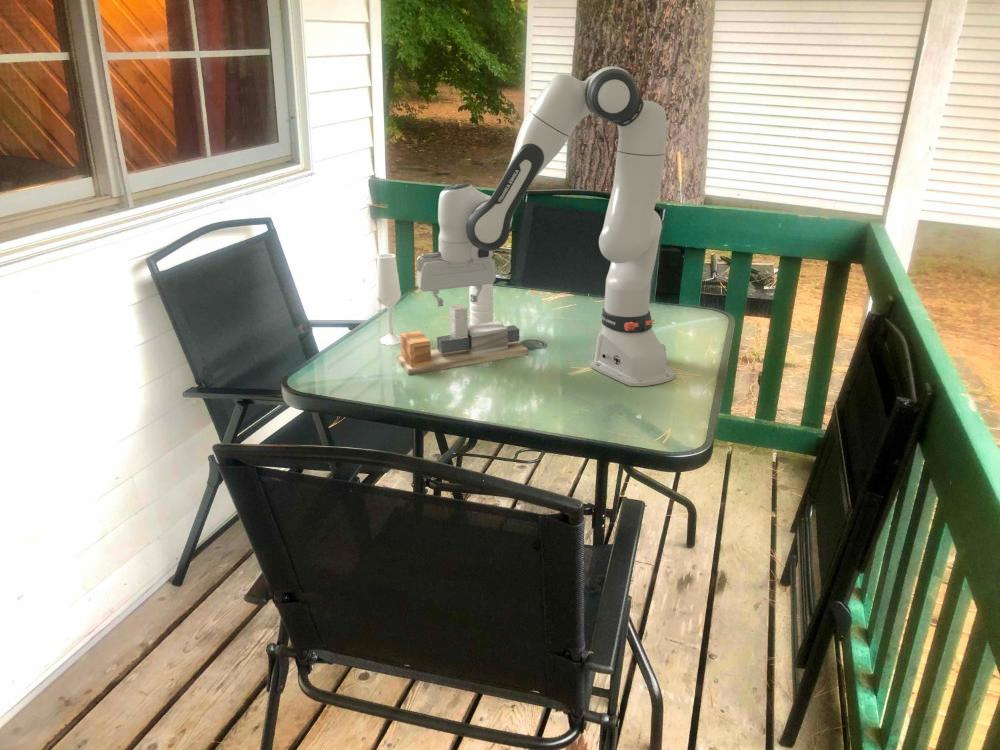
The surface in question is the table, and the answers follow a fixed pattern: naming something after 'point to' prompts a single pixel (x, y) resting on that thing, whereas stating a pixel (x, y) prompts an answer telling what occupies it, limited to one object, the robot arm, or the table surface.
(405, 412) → the table surface
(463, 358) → the base
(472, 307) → the water bottle
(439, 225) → the robot arm
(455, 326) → the slider with upright handle
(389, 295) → the champagne flute
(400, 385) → the table surface
